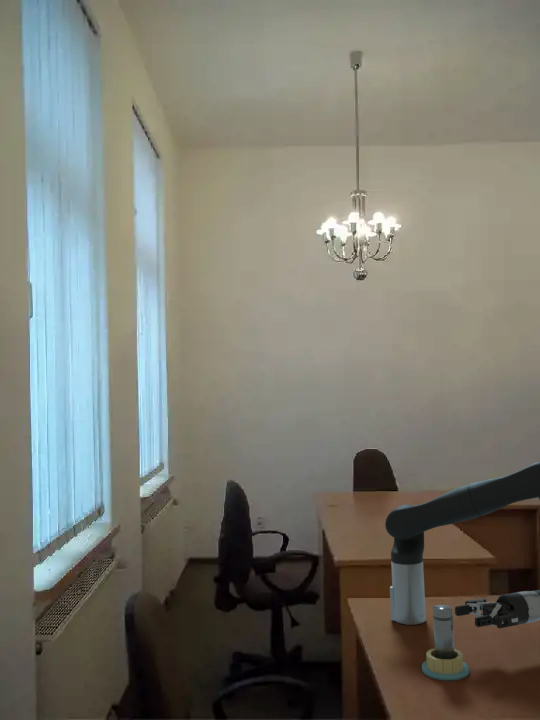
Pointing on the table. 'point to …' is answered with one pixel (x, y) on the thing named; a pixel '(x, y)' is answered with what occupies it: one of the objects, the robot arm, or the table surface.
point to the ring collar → (445, 667)
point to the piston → (443, 632)
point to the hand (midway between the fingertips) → (465, 616)
